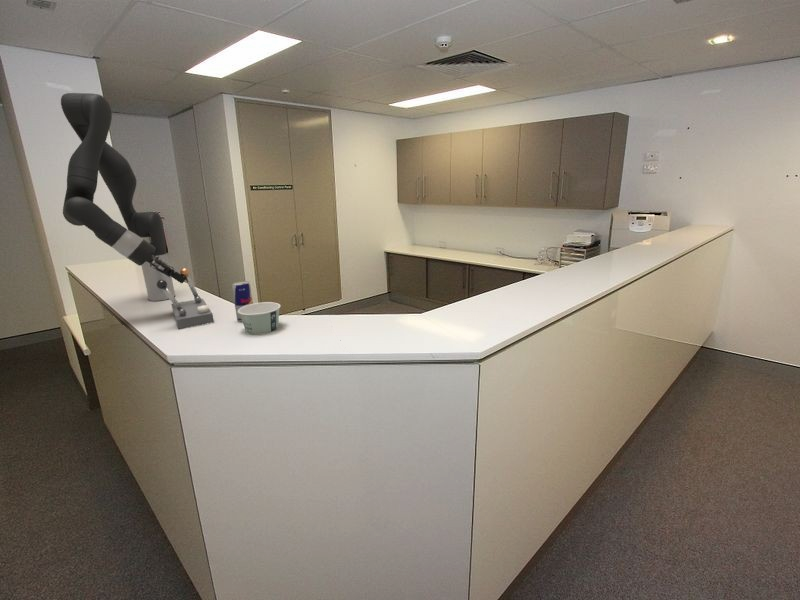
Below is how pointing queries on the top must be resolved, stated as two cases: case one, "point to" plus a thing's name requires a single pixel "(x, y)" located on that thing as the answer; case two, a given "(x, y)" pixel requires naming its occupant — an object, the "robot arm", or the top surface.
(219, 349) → the top surface
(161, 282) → the black knob lever
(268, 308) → the food container
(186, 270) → the orange knob lever
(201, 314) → the control panel
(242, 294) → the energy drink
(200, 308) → the push button
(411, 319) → the top surface
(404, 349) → the top surface
